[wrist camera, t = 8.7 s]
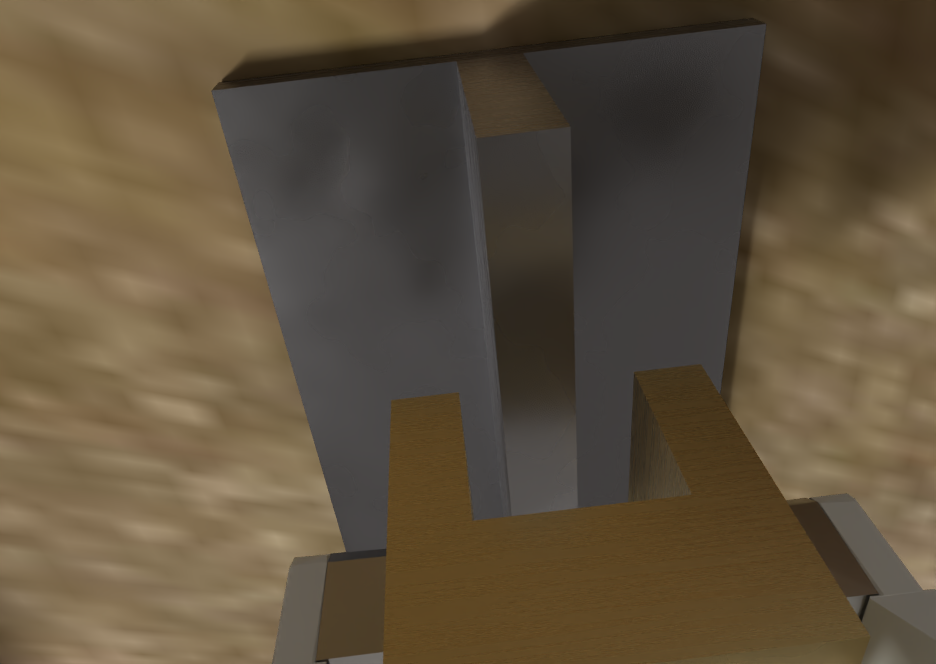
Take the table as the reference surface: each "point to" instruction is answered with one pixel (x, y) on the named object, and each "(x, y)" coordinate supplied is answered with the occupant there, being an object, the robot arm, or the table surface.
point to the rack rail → (499, 248)
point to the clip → (609, 552)
